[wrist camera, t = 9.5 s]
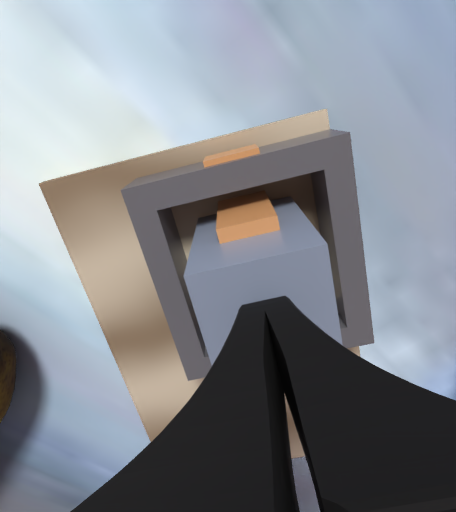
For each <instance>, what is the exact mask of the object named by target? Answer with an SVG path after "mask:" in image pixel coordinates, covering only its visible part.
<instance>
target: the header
mask: <svg viewBox="0 0 456 512" xmlns="http://www.w3.org/2000/svg"><path fill="white" fill-rule="evenodd" d="M308 173H311V179H312V185H313V191H314V197H315V204H316V210H317V216H318V223H319V229H320V235H321V236H322V237H323V239H324V240H325V241H326V243H327V244H328V250H329V257H330V264H331V270H332V277H333V284H334V290H335V297H336V304H337V310H338V317H339V324H340V330H341V337H342V344H343V346H344V347H346V348H352V347H357V346H362V345H367V344H371V343H374V336H373V328H372V319H371V310H370V302H369V293H368V284H367V276H366V267H365V258H364V250H363V241H362V232H361V224H360V215H359V207H358V198H357V189H356V181H355V172H354V163H353V155H352V146H351V137H350V132H345V131H338V130H332V129H328V130H324V131H321V132H317V133H313V134H309V135H305V136H301V137H297V138H293V139H289V140H285V141H281V142H277V143H273V144H269V145H265V146H261V147H258V146H257V145H256V144H253V145H249V146H245V147H241V148H237V149H233V150H230V151H226V152H222V153H218V154H214V155H210V156H206V157H205V158H204V160H203V161H202V162H198V163H194V164H190V165H186V166H183V167H179V168H175V169H171V170H167V171H163V172H159V173H155V174H151V175H147V176H143V177H139V178H136V179H135V180H133V181H132V182H131V183H129V184H128V185H127V186H125V187H124V188H123V189H121V193H122V196H123V199H124V202H125V205H126V207H127V210H128V213H129V216H130V219H131V221H132V224H133V227H134V230H135V233H136V236H137V238H138V241H139V244H140V247H141V250H142V252H143V255H144V258H145V261H146V264H147V267H148V269H149V272H150V275H151V278H152V281H153V283H154V286H155V289H156V292H157V295H158V298H159V300H160V303H161V306H162V309H163V312H164V314H165V317H166V320H167V323H168V326H169V329H170V331H171V334H172V337H173V340H174V343H175V345H176V348H177V351H178V354H179V357H180V360H181V362H182V365H183V368H184V371H185V374H186V377H187V379H188V381H190V380H195V379H200V378H205V377H206V375H207V373H208V372H209V370H210V368H211V367H212V365H211V362H210V359H209V356H208V352H207V349H206V346H205V343H204V340H203V337H202V333H201V330H200V327H199V324H198V321H197V317H196V314H195V311H194V308H193V305H192V302H191V298H190V295H189V292H188V289H187V286H186V283H185V279H184V273H185V269H186V265H187V258H186V255H185V252H184V249H183V245H182V242H181V239H180V236H179V233H178V229H177V226H176V223H175V220H174V216H173V213H172V210H171V207H174V206H178V205H182V204H186V203H190V202H194V201H198V200H202V199H206V198H210V197H214V196H218V195H222V194H227V193H231V192H235V191H239V190H243V189H247V188H251V187H255V186H259V185H263V184H267V183H271V182H276V181H280V180H284V179H288V178H292V177H296V176H300V175H304V174H308Z"/></svg>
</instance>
